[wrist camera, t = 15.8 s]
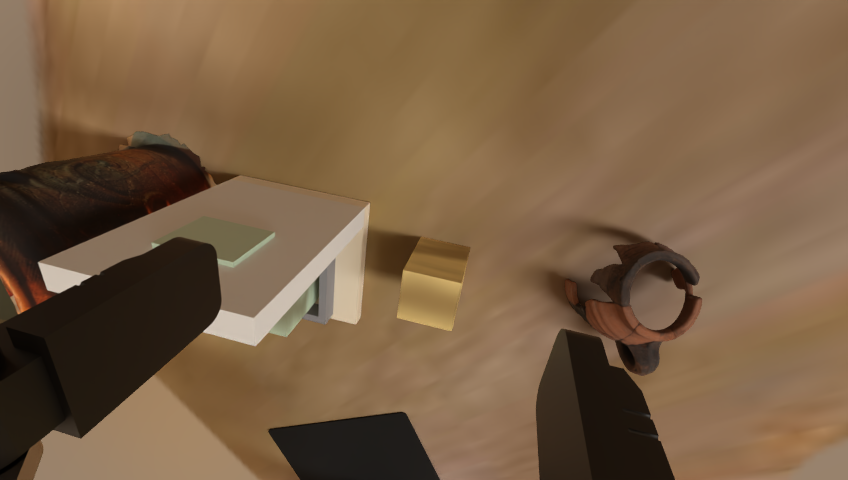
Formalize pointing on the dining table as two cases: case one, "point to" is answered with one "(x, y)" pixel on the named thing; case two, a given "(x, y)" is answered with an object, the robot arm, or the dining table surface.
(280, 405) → the dining table surface
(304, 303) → the sage block
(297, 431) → the table lamp
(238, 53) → the dining table surface
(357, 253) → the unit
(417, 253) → the mustard block
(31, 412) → the robot arm
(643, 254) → the pottery mug
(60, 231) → the vessel
